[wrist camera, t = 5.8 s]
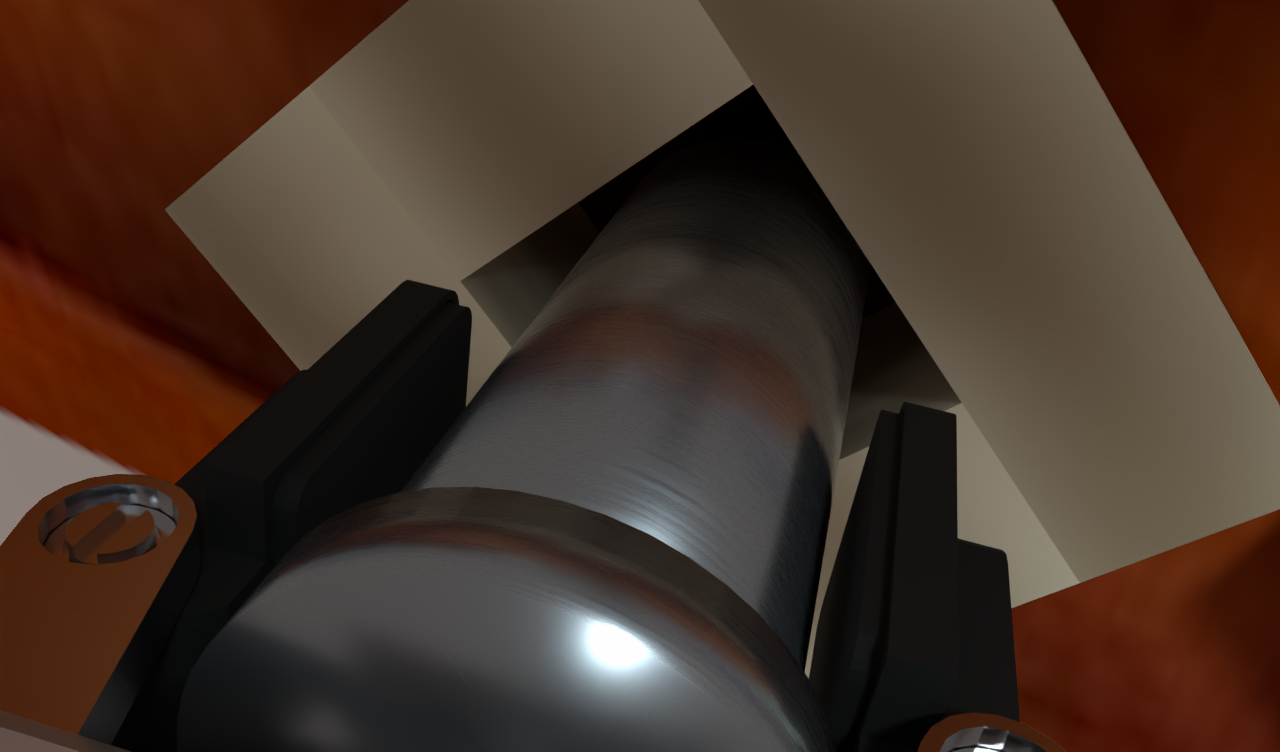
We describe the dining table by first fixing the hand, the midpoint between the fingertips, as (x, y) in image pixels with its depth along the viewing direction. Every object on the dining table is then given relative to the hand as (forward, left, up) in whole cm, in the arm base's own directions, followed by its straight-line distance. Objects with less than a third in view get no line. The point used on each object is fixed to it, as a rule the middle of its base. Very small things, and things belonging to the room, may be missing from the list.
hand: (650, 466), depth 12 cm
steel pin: (0, 0, -6) cm, 6 cm away
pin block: (0, 0, -9) cm, 9 cm away
